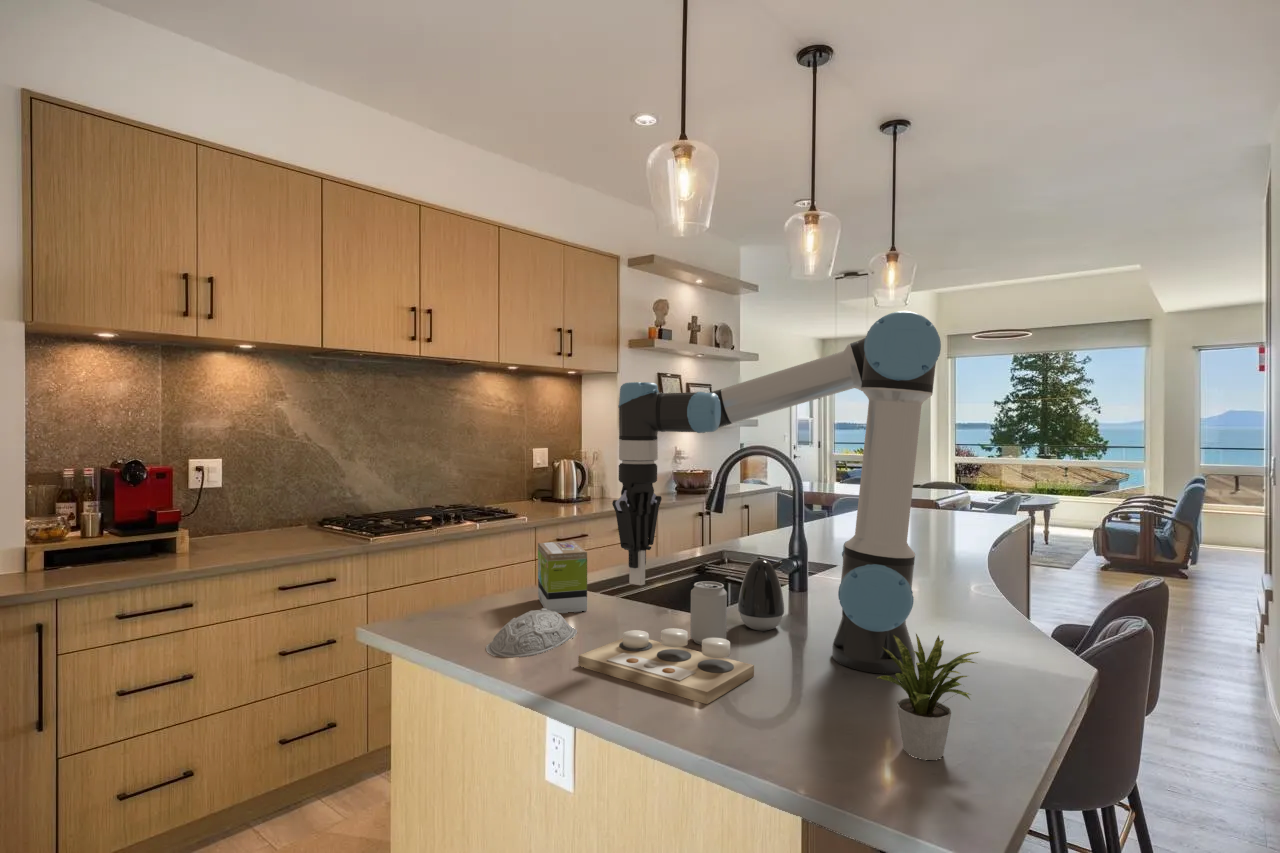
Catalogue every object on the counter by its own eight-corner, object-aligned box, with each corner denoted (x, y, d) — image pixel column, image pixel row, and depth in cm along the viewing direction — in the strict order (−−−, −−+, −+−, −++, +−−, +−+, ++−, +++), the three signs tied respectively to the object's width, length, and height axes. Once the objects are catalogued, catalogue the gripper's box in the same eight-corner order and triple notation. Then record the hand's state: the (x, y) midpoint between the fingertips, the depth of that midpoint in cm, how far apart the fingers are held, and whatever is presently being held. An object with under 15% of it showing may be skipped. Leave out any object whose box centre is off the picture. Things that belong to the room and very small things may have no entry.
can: (724, 648, 140) (725, 589, 140) (687, 645, 142) (688, 586, 141) (727, 637, 147) (728, 580, 147) (692, 634, 149) (693, 578, 149)
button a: (735, 652, 124) (735, 641, 124) (720, 659, 120) (720, 648, 120) (711, 646, 127) (711, 635, 127) (696, 653, 123) (696, 642, 123)
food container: (591, 625, 154) (588, 595, 153) (537, 669, 130) (533, 633, 130) (530, 625, 159) (527, 596, 159) (467, 666, 136) (463, 632, 135)
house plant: (989, 792, 86) (991, 661, 86) (871, 770, 91) (873, 646, 91) (979, 743, 99) (980, 629, 99) (877, 726, 104) (878, 618, 104)
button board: (753, 676, 125) (754, 663, 125) (706, 704, 112) (707, 690, 112) (631, 644, 142) (631, 633, 142) (578, 666, 129) (578, 653, 129)
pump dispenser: (794, 631, 152) (794, 562, 152) (752, 636, 148) (753, 565, 148) (768, 618, 161) (769, 553, 161) (729, 623, 158) (730, 556, 157)
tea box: (536, 599, 177) (537, 541, 177) (575, 596, 180) (575, 540, 180) (546, 615, 163) (547, 552, 162) (588, 612, 166) (589, 550, 166)
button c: (653, 643, 135) (653, 633, 135) (638, 650, 131) (638, 639, 131) (633, 638, 138) (633, 628, 138) (617, 645, 134) (617, 634, 134)
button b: (692, 642, 130) (692, 631, 130) (677, 649, 126) (677, 638, 126) (670, 637, 133) (670, 626, 133) (655, 643, 129) (655, 632, 129)
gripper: (642, 460, 142) (642, 575, 142) (601, 462, 131) (600, 587, 131) (673, 461, 137) (672, 580, 137) (632, 464, 127) (631, 593, 127)
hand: (637, 583), depth 134 cm, fingers closed
